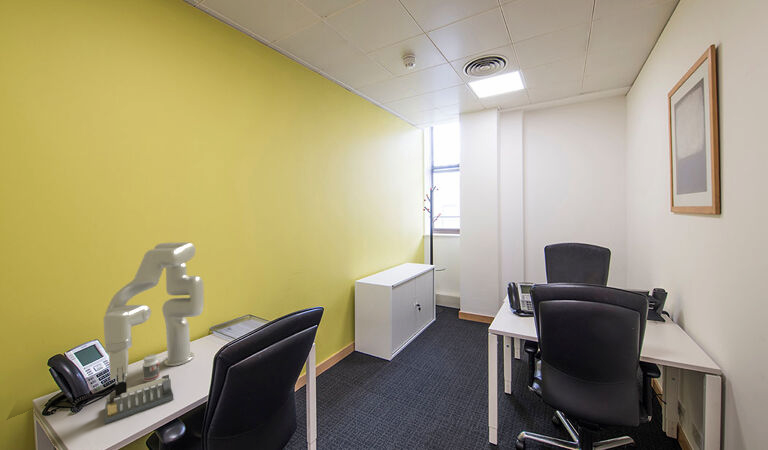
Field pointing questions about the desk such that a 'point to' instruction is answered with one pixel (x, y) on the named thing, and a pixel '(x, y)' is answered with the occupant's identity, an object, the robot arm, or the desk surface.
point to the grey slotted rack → (138, 401)
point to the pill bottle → (150, 368)
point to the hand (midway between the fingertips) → (121, 392)
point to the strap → (138, 388)
